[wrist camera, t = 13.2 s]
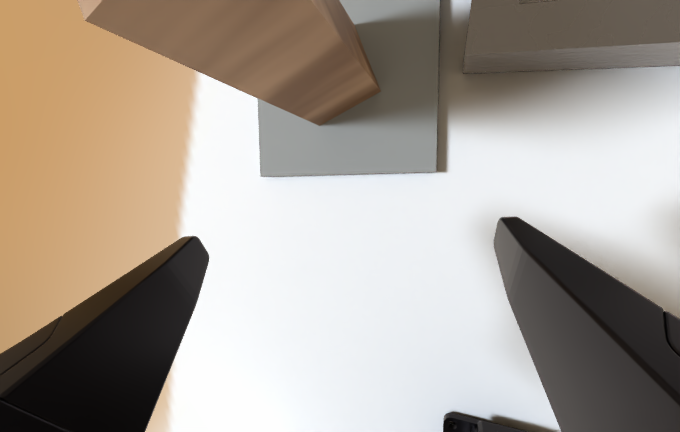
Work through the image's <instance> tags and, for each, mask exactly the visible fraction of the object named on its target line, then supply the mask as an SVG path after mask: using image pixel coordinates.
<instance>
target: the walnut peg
mask: <svg viewBox="0 0 680 432" xmlns="http://www.w3.org/2000/svg"><path fill="white" fill-rule="evenodd" d="M78 3H79V6H80V9H81V12H82V14H83V17H84V20H85V21H87V22H89V23H91V24H94V25H96V26H98V27H100V28H102V29H105V30H107V31H109V32H111V33H114V34H116V35H118V36H121V37H123V38H125V39H127V40H129V41H131V42H134V43H136V44H138V45H140V46H143V47H145V48H147V49H149V50H152V51H154V52H156V53H158V54H161V55H163V56H165V57H167V58H169V59H172V60H174V61H176V62H178V63H180V64H183V65H185V66H187V67H189V68H192V69H194V70H196V71H198V72H200V73H203V74H205V75H207V76H209V77H212V78H214V79H216V80H218V81H220V82H223V83H225V84H227V85H229V86H232V87H234V88H236V89H238V90H241V91H243V92H245V93H247V94H249V95H252V96H254V97H256V98H258V99H261V100H263V101H265V102H267V103H269V104H272V105H274V106H276V107H278V108H281V109H283V110H285V111H287V112H290V113H292V114H294V115H296V116H298V117H301V118H303V119H305V120H307V121H310V122H312V123H314V124H316V125H318V126H320V125H322V124H324V123H325V122H327V121H329V120H331V119H333V118H334V117H336V116H338V115H340V114H342V113H343V112H345V111H347V110H349V109H350V108H352V107H354V106H356V105H358V104H359V103H361V102H363V101H365V100H367V99H368V98H370V97H372V96H374V95H376V94H377V93H379V92H381V90H380V88H379V85H378V83H377V80H376V78H375V75H374V73H373V70H372V68H371V65H370V63H369V60H368V58H367V55H366V53H365V50H364V48H363V45H362V43H361V40H360V38H359V35H358V33H357V30H356V28H355V25H354V23H353V22H352V20H351V19H350V17H349V15H348V14H347V12H346V11H345V9H344V7H343V6H342V4H341V2H340V1H339V0H78Z"/></svg>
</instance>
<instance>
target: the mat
mask: <svg viewBox="0 0 680 432" xmlns="http://www.w3.org/2000/svg"><path fill="white" fill-rule="evenodd" d="M339 1H340V2H341V4H342V6H343V7H344V9H345V11H346V12H347V14H348V15H349V17H350V19H351V20H352V22H353V23H354V25H355V28H356V30H357V33H358V35H359V38H360V40H361V43H362V45H363V48H364V50H365V53H366V55H367V58H368V60H369V63H370V65H371V68H372V70H373V73H374V75H375V78H376V80H377V83H378V85H379V88H380V90H381V92H379V93H377V94H376V95H374V96H372V97H370V98H368V99H367V100H365V101H363V102H361V103H359V104H358V105H356V106H354V107H352V108H350V109H349V110H347V111H345V112H343V113H342V114H340V115H338V116H336V117H334V118H333V119H331V120H329V121H327V122H325V123H324V124H322V125H320V126H318V125H316V124H314V123H312V122H310V121H307V120H305V119H303V118H301V117H298V116H296V115H294V114H292V113H290V112H287V111H285V110H283V109H281V108H278V107H276V106H274V105H272V104H269V103H267V102H265V101H263V100H261V99H258V118H259V146H260V173H261V177H275V176H311V175H347V174H383V173H419V172H437V128H438V81H439V34H440V0H339Z"/></svg>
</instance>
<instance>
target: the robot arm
mask: <svg viewBox="0 0 680 432" xmlns="http://www.w3.org/2000/svg"><path fill="white" fill-rule="evenodd" d="M494 249H495V253H496V256H497V260H498V264H499V268H500V271H501V275H502V279H503V283H504V287H505V290H506V294H507V297H508V300H509V303H510V305H511V308H512V310H513V313H514V315H515V318H516V320H517V323H518V325H519V328H520V330H521V333H522V335H523V338H524V340H525V343H526V345H527V348H528V350H529V352H530V355H531V357H532V360H533V362H534V365H535V367H536V370H537V372H538V375H539V377H540V380H541V382H542V385H543V387H544V390H545V392H546V394H547V397H548V399H549V402H550V404H551V407H552V409H553V412H554V414H555V417H556V419H557V422H558V424H559V427H560V429H561V432H680V319H679V318H677V317H676V316H674V315H673V314H671V313H669V312H667V311H664V312H663V309H662V308H661V307H660V306H658V305H656V304H655V303H653V302H652V301H650V300H649V299H647V298H645V297H644V296H642V295H641V294H639V293H637V292H636V291H634V290H633V289H631V288H629V287H628V286H626V285H625V284H623V283H622V282H620V281H618V280H617V279H615V278H614V277H612V276H610V275H609V274H607V273H606V272H604V271H603V270H601V269H599V268H598V267H596V266H595V265H593V264H591V263H590V262H588V261H587V260H585V259H583V258H582V257H580V256H579V255H577V254H576V253H574V252H572V251H571V250H569V249H568V248H566V247H564V246H563V245H561V244H560V243H558V242H557V241H555V240H553V239H552V238H550V237H549V236H547V235H545V234H544V233H542V232H541V231H539V230H538V229H536V228H534V227H533V226H531V225H530V224H528V223H526V222H525V221H523V220H522V219H520V218H518V217H502V218H500V219H499V220H498V223H497V228H496V233H495V237H494ZM208 262H209V254H208V252H207V251H206V249H205V247H204V246H203V244H202V243H201V241H200V239H199V238H198V237H196V236H186V237H182V238H181V239H179V240H177V241H176V242H174V243H173V244H171V245H170V246H168V247H167V248H165V249H164V250H162V251H160V252H159V253H158V254H156V255H154V256H153V257H151V258H150V259H148V260H147V261H145V262H144V263H142V264H141V265H139V266H137V267H136V268H134V269H133V270H131V271H130V272H128V273H127V274H125V275H123V276H122V277H120V278H119V279H117V280H116V281H114V282H113V283H111V284H110V285H108V286H107V287H105V288H104V289H102V290H100V291H99V292H97V293H96V294H94V295H93V296H91V297H89V298H88V299H87V300H85V301H83V302H82V303H80V304H79V305H77V306H76V307H74V308H73V309H71V310H69V311H68V312H66V313H65V314H64V315H63V316H60V317H59V318H57V319H55V320H54V321H53V322H51V323H49V324H48V325H46V326H45V327H43V328H41V329H40V330H38V331H37V332H35V333H34V334H32V335H30V336H29V337H27V338H26V339H24V340H22V341H21V342H19V343H18V344H16V345H14V346H13V347H11V348H9V349H8V350H6V351H4V352H3V353H1V354H0V432H145V431H146V428H147V426H148V423H149V421H150V418H151V416H152V413H153V411H154V408H155V406H156V403H157V401H158V398H159V396H160V393H161V390H162V388H163V386H164V383H165V381H166V378H167V376H168V373H169V371H170V368H171V366H172V363H173V361H174V358H175V356H176V353H177V351H178V349H179V346H180V344H181V341H182V339H183V336H184V334H185V331H186V329H187V326H188V324H189V321H190V319H191V316H192V314H193V311H194V309H195V306H196V303H197V300H198V297H199V294H200V290H201V287H202V283H203V280H204V276H205V273H206V269H207V266H208ZM450 421H452V422H454V423H455V424H450V423H449V422H450ZM443 432H527V431H523V430H519V429H515V428H511V427H507V426H503V425H499V424H495V423H491V422H487V421H482V420H478V419H474V418H470V417H466V416H462V415H458V414H454V413H447V414H446V415H445V416H444V424H443Z"/></svg>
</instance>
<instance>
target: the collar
mask: <svg viewBox="0 0 680 432" xmlns="http://www.w3.org/2000/svg"><path fill="white" fill-rule="evenodd" d="M677 65H680V0H553V1H544V2H535V3H525V4H520V0H472V3H471V10H470V17H469V25H468V32H467V39H466V47H465V54H464V67H463V74H468V73H495V72H521V71H547V70H573V69H599V68H625V67H651V66H677Z"/></svg>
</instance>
